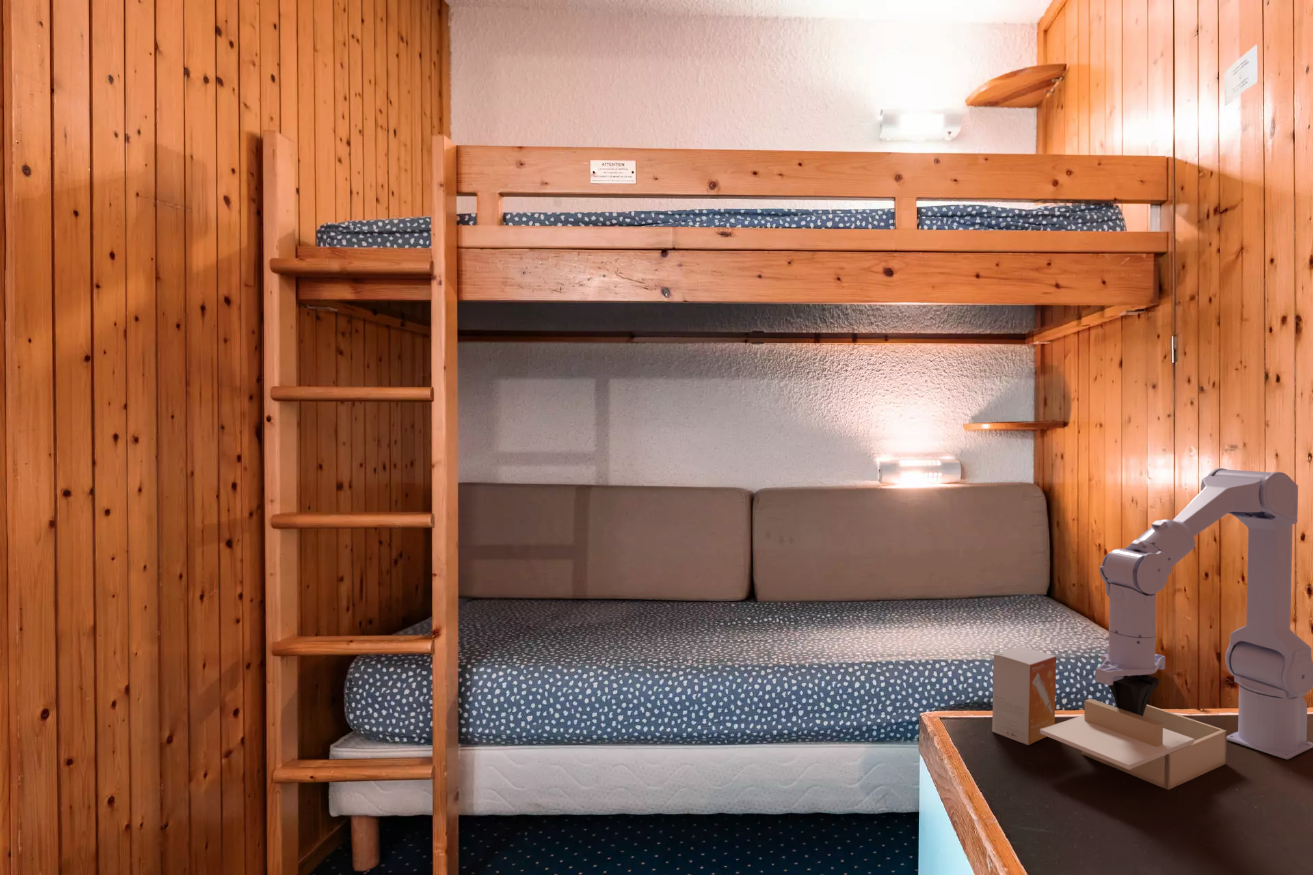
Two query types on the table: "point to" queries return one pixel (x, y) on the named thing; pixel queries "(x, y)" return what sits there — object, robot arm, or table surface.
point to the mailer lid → (1117, 735)
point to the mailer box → (1180, 751)
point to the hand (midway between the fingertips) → (1130, 723)
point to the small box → (1023, 693)
